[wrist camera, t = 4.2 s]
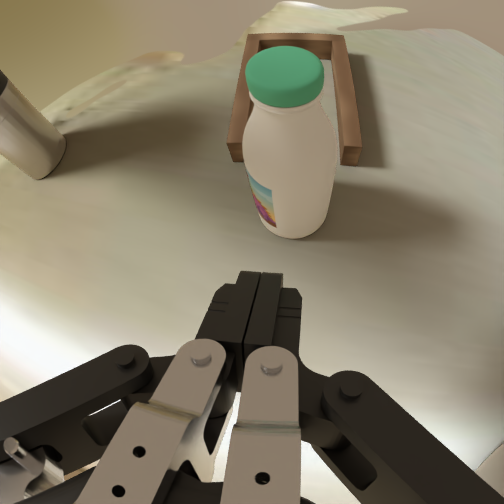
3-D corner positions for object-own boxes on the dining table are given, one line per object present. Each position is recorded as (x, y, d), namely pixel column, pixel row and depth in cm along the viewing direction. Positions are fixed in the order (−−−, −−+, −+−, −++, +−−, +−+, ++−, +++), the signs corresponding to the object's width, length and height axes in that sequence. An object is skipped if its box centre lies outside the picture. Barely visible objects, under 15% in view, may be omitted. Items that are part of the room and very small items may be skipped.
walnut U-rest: (233, 161, 37) (226, 142, 33) (251, 52, 43) (247, 34, 39) (356, 166, 34) (362, 146, 31) (342, 53, 41) (343, 35, 37)
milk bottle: (329, 181, 34) (348, 35, 15) (324, 244, 32) (354, 116, 13) (263, 175, 36) (231, 32, 17) (253, 236, 34) (202, 109, 15)
